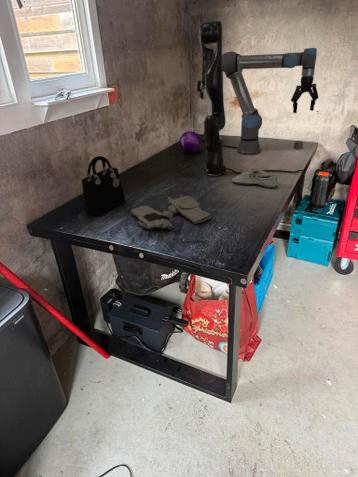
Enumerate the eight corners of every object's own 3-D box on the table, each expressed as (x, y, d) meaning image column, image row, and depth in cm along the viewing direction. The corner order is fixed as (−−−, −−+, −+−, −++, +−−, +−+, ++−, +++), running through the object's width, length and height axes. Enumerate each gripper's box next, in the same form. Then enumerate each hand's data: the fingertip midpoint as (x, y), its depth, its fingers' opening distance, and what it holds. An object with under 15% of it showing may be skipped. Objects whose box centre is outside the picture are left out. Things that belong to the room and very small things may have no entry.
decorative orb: (204, 151, 235) (204, 129, 228) (194, 156, 225) (193, 134, 217) (186, 149, 243) (186, 128, 235) (175, 154, 232) (174, 132, 224)
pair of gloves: (147, 237, 131) (146, 225, 129) (129, 213, 152) (128, 202, 149) (214, 220, 141) (214, 209, 138) (188, 199, 162) (188, 189, 159)
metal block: (298, 147, 233) (299, 141, 230) (302, 148, 229) (303, 142, 227) (293, 148, 231) (294, 141, 229) (297, 149, 228) (298, 143, 226)
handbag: (98, 217, 149) (87, 164, 137) (84, 214, 154) (72, 161, 141) (127, 201, 164) (120, 151, 152) (113, 198, 169) (105, 149, 156)
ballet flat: (235, 178, 184) (236, 165, 180) (279, 184, 173) (281, 170, 169) (230, 183, 177) (230, 169, 173) (275, 190, 166) (276, 175, 163)
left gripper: (216, 67, 200) (215, 96, 209) (194, 69, 196) (195, 98, 204) (221, 68, 194) (221, 97, 202) (199, 69, 190) (200, 100, 198)
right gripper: (319, 74, 214) (314, 108, 225) (287, 77, 207) (283, 113, 217) (327, 74, 208) (322, 110, 218) (294, 78, 201) (291, 114, 211)
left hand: (208, 98), depth 203 cm, fingers open, 8 cm apart
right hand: (303, 111), depth 218 cm, fingers open, 13 cm apart
